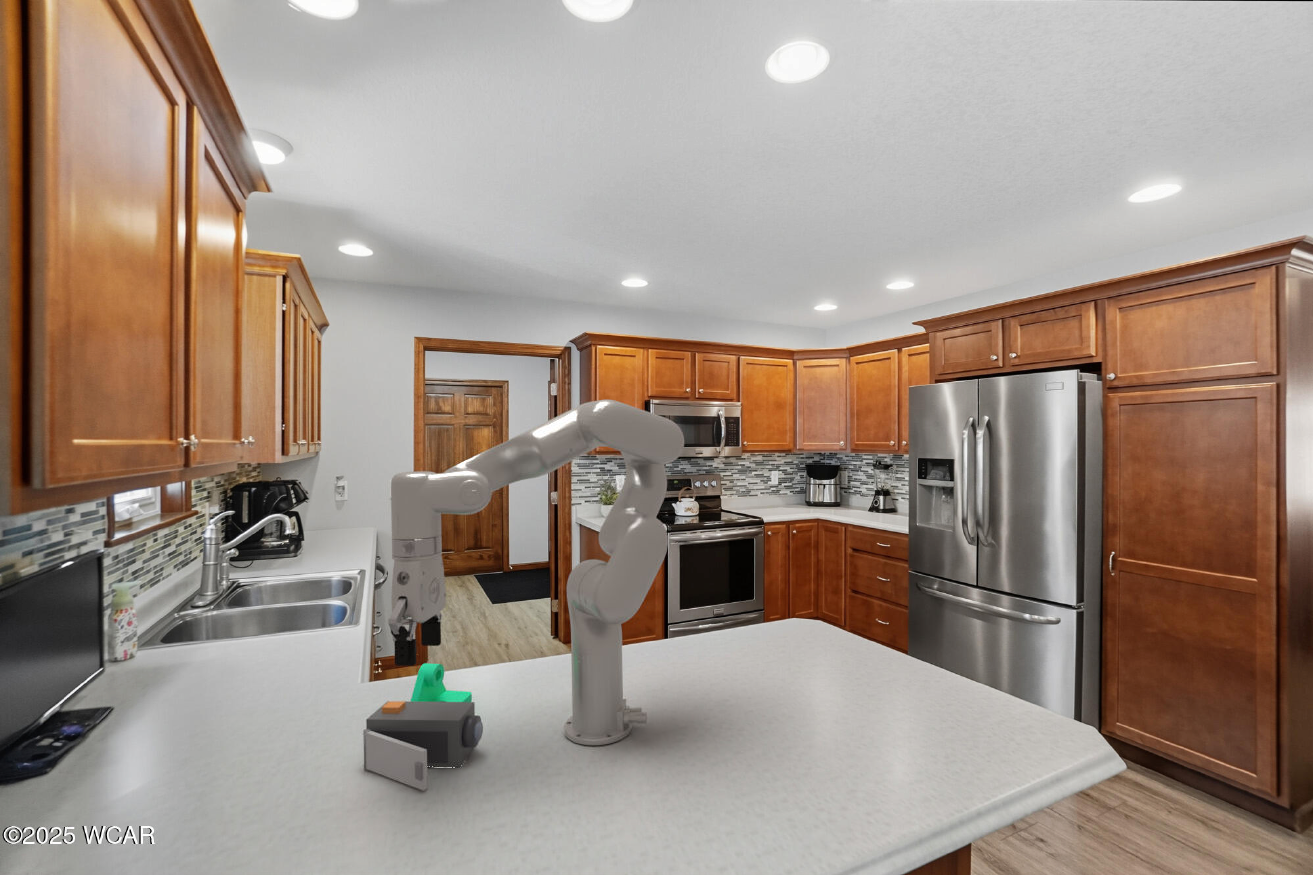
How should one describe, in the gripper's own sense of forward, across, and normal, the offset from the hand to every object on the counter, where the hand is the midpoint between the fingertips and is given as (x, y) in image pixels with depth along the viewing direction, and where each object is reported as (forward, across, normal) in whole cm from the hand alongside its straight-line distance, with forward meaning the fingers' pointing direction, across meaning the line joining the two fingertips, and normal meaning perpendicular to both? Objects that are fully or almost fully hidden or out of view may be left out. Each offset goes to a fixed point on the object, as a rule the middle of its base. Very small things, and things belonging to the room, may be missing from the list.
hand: (419, 654), depth 98 cm
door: (+20, -1, +4) cm, 20 cm away
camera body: (+20, +6, +2) cm, 21 cm away
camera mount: (+20, +22, +6) cm, 31 cm away
